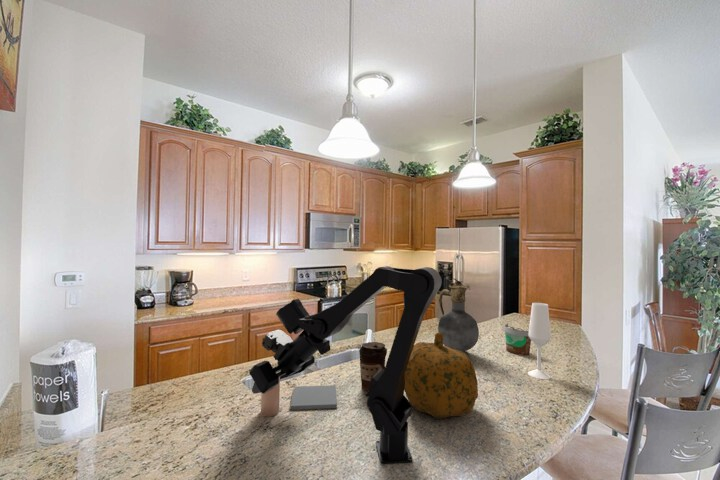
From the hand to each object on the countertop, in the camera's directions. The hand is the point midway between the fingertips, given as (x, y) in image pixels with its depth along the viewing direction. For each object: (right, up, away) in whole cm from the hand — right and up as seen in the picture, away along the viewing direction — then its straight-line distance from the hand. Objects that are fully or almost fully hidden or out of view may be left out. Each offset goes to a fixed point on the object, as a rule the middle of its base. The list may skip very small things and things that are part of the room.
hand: (266, 384), depth 81 cm
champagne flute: (+85, -9, +26) cm, 89 cm away
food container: (+87, -9, +48) cm, 100 cm away
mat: (+11, -7, +6) cm, 15 cm away
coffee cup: (+28, -8, +13) cm, 32 cm away
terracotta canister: (+1, -7, -1) cm, 7 cm away
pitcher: (+62, -9, +46) cm, 78 cm away
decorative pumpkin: (+45, -8, +3) cm, 46 cm away
